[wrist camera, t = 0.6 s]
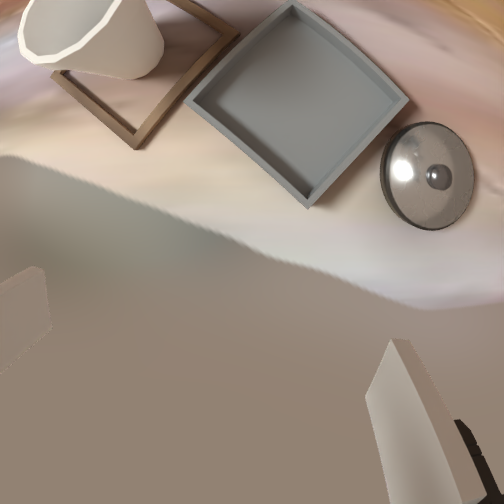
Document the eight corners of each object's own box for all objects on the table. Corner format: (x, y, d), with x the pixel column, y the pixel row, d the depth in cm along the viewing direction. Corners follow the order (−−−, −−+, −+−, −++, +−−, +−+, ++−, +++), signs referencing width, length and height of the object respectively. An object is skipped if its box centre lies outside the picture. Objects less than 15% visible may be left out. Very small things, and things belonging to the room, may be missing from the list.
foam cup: (198, 38, 24) (158, -30, 12) (138, 110, 26) (61, 85, 14) (135, 3, 23) (78, -55, 10) (81, 69, 25) (2, 39, 13)
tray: (289, 9, 23) (291, -3, 20) (398, 104, 25) (409, 99, 23) (189, 106, 26) (182, 101, 24) (303, 205, 29) (307, 209, 26)
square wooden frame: (140, -23, 22) (137, -26, 21) (240, 35, 24) (239, 32, 23) (54, 78, 25) (50, 77, 24) (137, 150, 28) (134, 149, 27)
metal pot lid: (421, 102, 25) (438, 97, 22) (477, 178, 27) (496, 181, 23) (357, 173, 27) (369, 174, 24) (421, 246, 29) (438, 256, 26)
